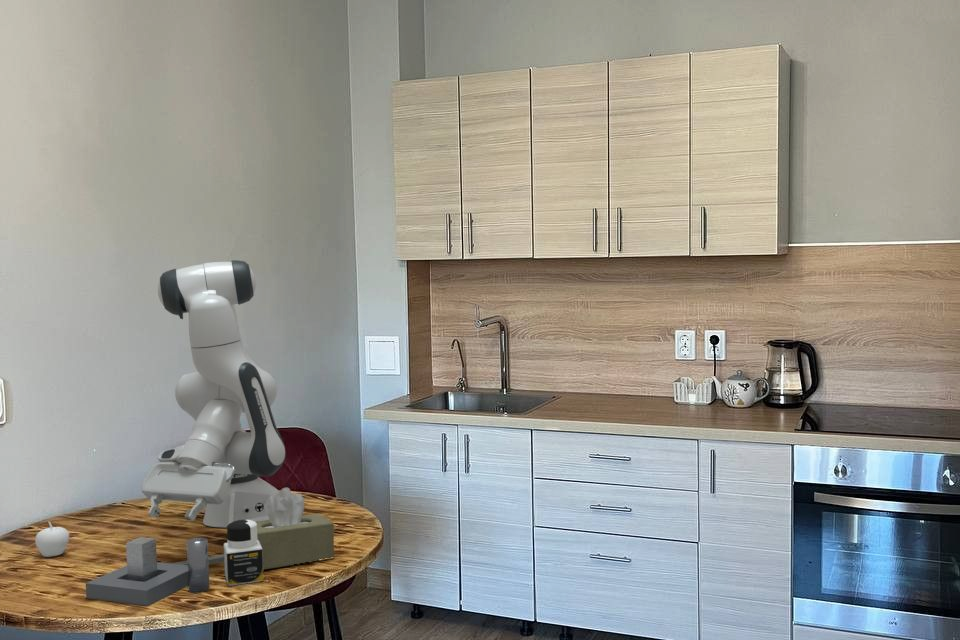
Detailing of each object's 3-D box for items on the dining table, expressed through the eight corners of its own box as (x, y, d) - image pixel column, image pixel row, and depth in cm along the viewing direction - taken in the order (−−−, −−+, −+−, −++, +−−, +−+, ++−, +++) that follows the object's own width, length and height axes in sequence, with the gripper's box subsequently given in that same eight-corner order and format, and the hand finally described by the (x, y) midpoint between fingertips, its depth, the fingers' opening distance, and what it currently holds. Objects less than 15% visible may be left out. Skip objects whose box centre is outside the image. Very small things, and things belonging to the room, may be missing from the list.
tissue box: (321, 547, 208) (320, 479, 208) (335, 558, 200) (334, 487, 199) (238, 559, 199) (237, 488, 199) (250, 572, 191) (249, 497, 190)
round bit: (207, 584, 185) (205, 536, 184) (211, 590, 181) (209, 541, 181) (187, 588, 183) (185, 539, 183) (190, 594, 180) (188, 544, 179)
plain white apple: (28, 558, 206) (27, 523, 206) (53, 549, 213) (52, 515, 213) (52, 561, 204) (50, 526, 204) (76, 551, 211) (75, 517, 210)
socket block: (139, 573, 193) (139, 560, 193) (197, 580, 188) (197, 566, 187) (86, 598, 179) (85, 583, 179) (147, 606, 174) (146, 590, 173)
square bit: (142, 585, 186) (140, 537, 185) (158, 587, 184) (155, 538, 184) (128, 591, 182) (125, 542, 182) (144, 593, 181) (141, 544, 180)
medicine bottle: (228, 586, 183) (225, 528, 183) (224, 576, 190) (222, 519, 190) (263, 581, 186) (261, 524, 185) (259, 571, 193) (257, 515, 192)
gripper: (244, 471, 198) (218, 528, 189) (168, 467, 205) (140, 521, 197) (230, 456, 194) (204, 513, 185) (153, 451, 201) (124, 506, 192)
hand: (170, 517), depth 191 cm, fingers open, 8 cm apart
